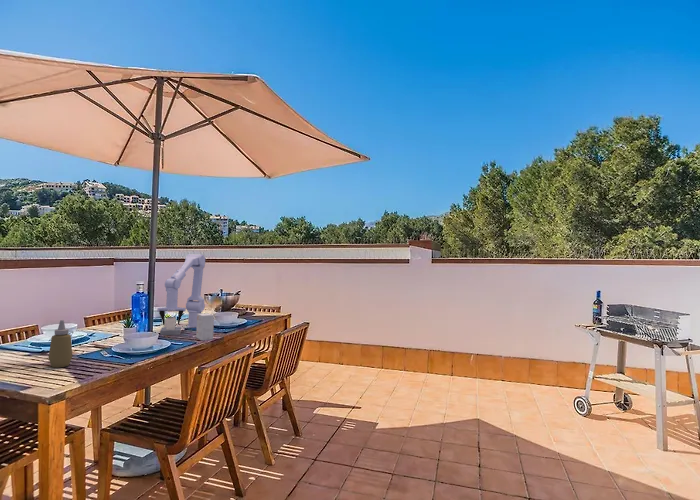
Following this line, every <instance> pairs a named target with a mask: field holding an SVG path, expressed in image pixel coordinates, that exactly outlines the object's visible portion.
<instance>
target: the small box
mask: <svg viewBox="0 0 700 500" xmlns="http://www.w3.org/2000/svg"><path fill="white" fill-rule="evenodd" d="M214 319H215V315H214V314H212V313H208V312H207V313H203V312H201V314H197V327H196V333H195V335H196V336H195V338H196V339H198V340H200V341H209V340H210V341H211V340H214V325H215V324H214V322H215V321H214Z"/></svg>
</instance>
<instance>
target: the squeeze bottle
mask: <svg viewBox="0 0 700 500" xmlns="http://www.w3.org/2000/svg"><path fill="white" fill-rule="evenodd" d="M49 344H50V346H49V351H48V360H49V363H50V367H51V368H57V369H58V368H65V367H68V366H69V365H70V363H71V361H72V359H73V346H72V335H70V334H69V329H68V328H66V325H65V320H64V319H62V320H60V321H59V324H58V328H57V329H54V335H52V336H51V339H50V343H49Z"/></svg>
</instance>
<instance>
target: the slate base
mask: <svg viewBox="0 0 700 500" xmlns="http://www.w3.org/2000/svg"><path fill="white" fill-rule="evenodd" d="M159 331H160V332H159V333H160V334H159V336H180V335H181V332H182V327H181V326H175V330H166V326H165V327H164V326H163V327H161V328H160V330H159Z"/></svg>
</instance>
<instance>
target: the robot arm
mask: <svg viewBox="0 0 700 500" xmlns="http://www.w3.org/2000/svg"><path fill="white" fill-rule="evenodd" d="M184 260H185V261H184V263H183V264H182V266H181V267H180V268H178V269H176V270H175V272H174V273H173V274H172V275H171V276H170V277H169V278H167V279H166V280H165V282H164V287H165V292H166V304H165V306H166V307H165V306H164V307H157V310H156V311H157V312H158V313H159V316H160V317H161V322H162V325H166V324H165V314H166V313H165V312H178V313H177V315H178V316H177V326H178V325H180V322H181V318H182V316H183V314H184V313H185V312H186V311H187V313H188V321H187V327H186V328H187V329H188V328H189V329H190V328H192V329H193V328H195V329H196V328H197V314H202V313H203V311H204V310H205V306H206V304H205V299H204V298H203V297H202V296H201V295H202V294H201V293H202V284H203V275H204V268H205V266H206V265H205V264H206V257H205V256H204V254H202V253H201V254H198V253H197V254H196V253H195V254H193V253H187V254H186V256H185V259H184ZM190 268H192V269H193V277H192V286H191V295H190V296H189V297H188V298H187V301H186V303H185V307H178V299H179V298H178V296H179V289H180V287H181V284H182V281H183V280H184V278H185V277H186V275H187V274H186V273H187V271H188V270H189V269H190Z"/></svg>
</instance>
